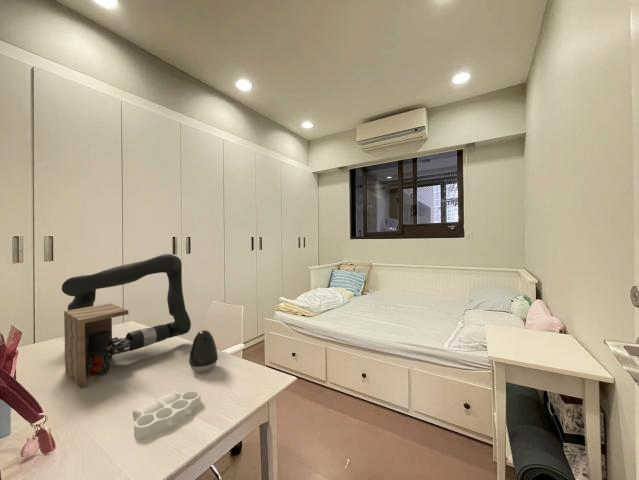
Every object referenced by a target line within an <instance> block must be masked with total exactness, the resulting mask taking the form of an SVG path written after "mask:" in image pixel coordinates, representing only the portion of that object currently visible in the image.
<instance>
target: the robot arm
mask: <svg viewBox="0 0 639 480" xmlns="http://www.w3.org/2000/svg"><path fill="white" fill-rule="evenodd" d="M182 265H183V264H182V260H181V259H180V258H179V257H178V256H177V255H173V254H170V253H164V254H160V255H157V256H155V257H152V258H148V259H145V260H140V261H135V262H132V263H128V264H122V265H118V266H117V265H116V266H115V267H110V268H107V269H104V270H101V271H99V272H97V273H92V274H83V275H78V276H72V277H69V278H67V279H66V280H65V281H64V282H63V283H62V286H61V291H62V293H63V294H64V295H67V296H69V297H73V299H72V301H71V302H70V303H68V305H67V311H68V310H74V309H80V308H86V307H91V306H94V304H95V301H96V297H97V296H96V293H97V291H96V290H99V289H105V288H113V287H118V286H122V285H127V284H131V283H134V282H136V281H139V280H140V279H142V278H144V277H146V276H149V275H155V274H160V273H161V274H162V273H163V274H164V273H165V274H166V276H167V280H168V290H167V294H166V295H167V299H166V301H167V307H168V312H169V315H170V316H172V317H173V320H174V321H171V322H169V323H165V324H159V325H154V326H151V327H145V328H141V329H138V330H134V331H129V332H127V334H126V335H125V337H124V338H123V337H120V338H119V336H117V337H112V339H109V347H108V348H107V349H106V348H105V349H101V350H98V351H95V352H94V357H95V358H96V357H100V356H103V355H106V354H107V355H110V354H111V355H112V356H115V355H119V354H123V353H127V352H132V351H135V350H139V349H142V348H146V347H148V346H151V345H153V344H156V343H159V342H162V341H166V340H168V339H171V338H174V337H178V336H182V335H185V334H188V333H189V332H190V330H191V327H192V323H191V319H190V317H189V314H188V312H187V309H186V304H185V299H184V293H183V283H182V282H183V281H182V279H183V278H182V276H183V275H182V274H183V273H182V271H183V269H182V267H183V266H182ZM88 353H89V348H88Z"/></svg>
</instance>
